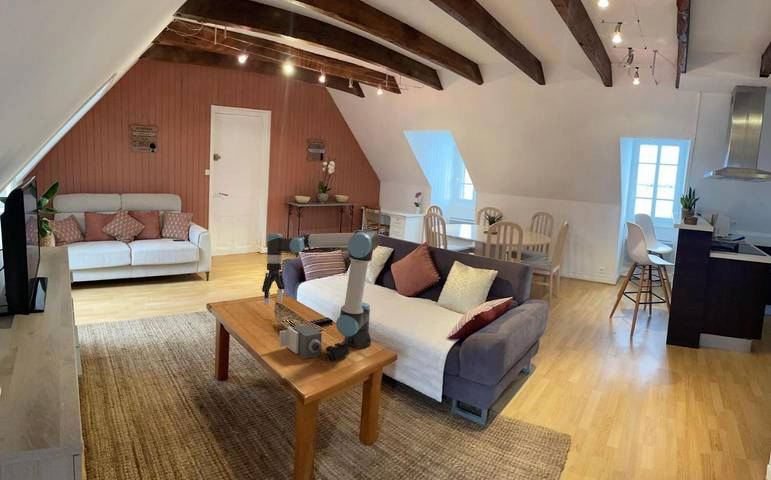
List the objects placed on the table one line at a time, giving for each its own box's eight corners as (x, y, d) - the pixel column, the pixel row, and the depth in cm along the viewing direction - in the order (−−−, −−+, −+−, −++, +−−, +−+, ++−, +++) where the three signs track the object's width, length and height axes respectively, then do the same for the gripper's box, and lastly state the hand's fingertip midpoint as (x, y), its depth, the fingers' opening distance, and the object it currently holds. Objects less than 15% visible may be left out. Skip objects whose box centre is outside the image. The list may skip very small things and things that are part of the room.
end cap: (334, 363, 242) (335, 350, 241) (324, 359, 247) (325, 346, 246) (348, 357, 250) (349, 345, 249) (339, 353, 254) (339, 341, 253)
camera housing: (307, 345, 262) (308, 324, 259) (323, 356, 249) (323, 334, 247) (292, 349, 256) (292, 327, 254) (307, 360, 243) (308, 337, 241)
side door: (289, 346, 258) (289, 326, 256) (298, 353, 250) (298, 332, 248) (279, 348, 255) (279, 328, 253) (288, 355, 247) (288, 334, 245)
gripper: (279, 261, 271) (278, 299, 272) (255, 263, 247) (254, 305, 248) (291, 262, 269) (290, 300, 269) (268, 264, 245) (267, 306, 245)
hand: (273, 303), depth 259 cm, fingers open, 13 cm apart
